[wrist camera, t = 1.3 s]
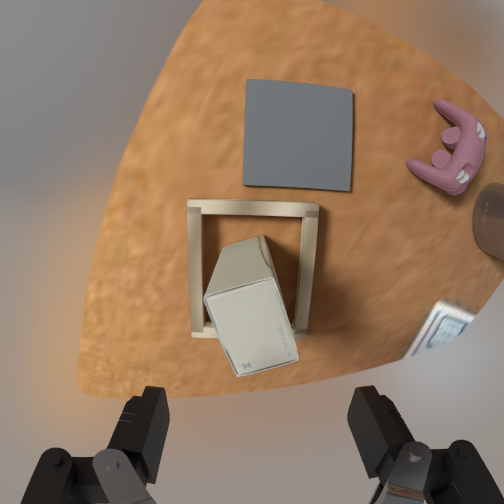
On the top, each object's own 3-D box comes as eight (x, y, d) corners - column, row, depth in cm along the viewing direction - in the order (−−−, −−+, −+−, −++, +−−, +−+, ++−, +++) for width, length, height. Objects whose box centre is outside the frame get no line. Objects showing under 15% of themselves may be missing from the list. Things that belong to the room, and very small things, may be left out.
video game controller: (417, 185, 28) (468, 208, 23) (400, 164, 26) (457, 186, 20) (447, 118, 26) (496, 132, 21) (432, 93, 24) (487, 104, 18)
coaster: (350, 91, 24) (352, 90, 24) (347, 190, 27) (349, 191, 26) (246, 81, 24) (246, 79, 23) (242, 184, 27) (242, 184, 26)
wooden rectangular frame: (314, 202, 27) (319, 204, 25) (302, 329, 31) (305, 339, 29) (191, 198, 27) (187, 199, 25) (194, 327, 30) (191, 337, 28)
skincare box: (281, 290, 29) (303, 362, 18) (239, 303, 30) (237, 380, 18) (263, 231, 28) (277, 275, 16) (218, 245, 28) (200, 298, 16)
